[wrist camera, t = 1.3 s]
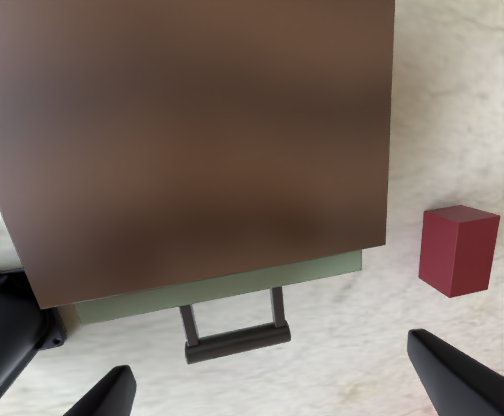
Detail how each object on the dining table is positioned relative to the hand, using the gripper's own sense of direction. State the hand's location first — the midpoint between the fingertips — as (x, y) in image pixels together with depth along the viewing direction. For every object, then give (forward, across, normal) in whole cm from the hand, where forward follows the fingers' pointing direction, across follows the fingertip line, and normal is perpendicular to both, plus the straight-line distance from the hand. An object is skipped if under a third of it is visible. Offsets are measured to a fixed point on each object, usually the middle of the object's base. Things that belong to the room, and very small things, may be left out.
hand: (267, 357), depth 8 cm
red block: (+14, -16, +5) cm, 22 cm away
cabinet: (+12, +2, -8) cm, 14 cm away
